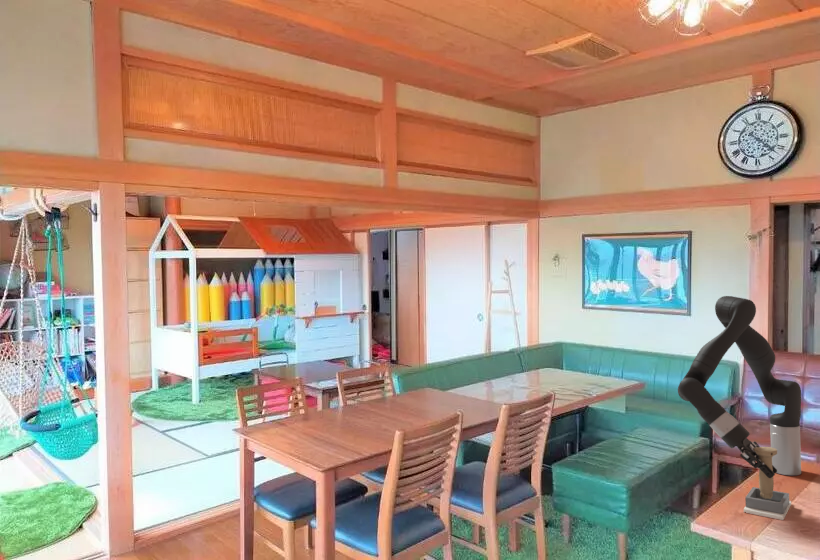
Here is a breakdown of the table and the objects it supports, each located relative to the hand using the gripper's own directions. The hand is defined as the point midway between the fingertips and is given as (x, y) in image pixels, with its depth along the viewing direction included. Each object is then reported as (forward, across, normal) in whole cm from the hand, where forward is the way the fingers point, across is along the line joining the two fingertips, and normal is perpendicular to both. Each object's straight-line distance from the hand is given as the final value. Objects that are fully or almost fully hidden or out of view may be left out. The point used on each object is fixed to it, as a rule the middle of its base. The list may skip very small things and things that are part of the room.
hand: (773, 474), depth 186 cm
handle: (+4, 0, +7) cm, 8 cm away
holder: (+6, 0, +9) cm, 11 cm away
